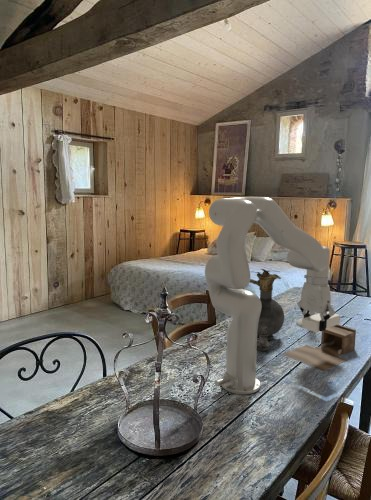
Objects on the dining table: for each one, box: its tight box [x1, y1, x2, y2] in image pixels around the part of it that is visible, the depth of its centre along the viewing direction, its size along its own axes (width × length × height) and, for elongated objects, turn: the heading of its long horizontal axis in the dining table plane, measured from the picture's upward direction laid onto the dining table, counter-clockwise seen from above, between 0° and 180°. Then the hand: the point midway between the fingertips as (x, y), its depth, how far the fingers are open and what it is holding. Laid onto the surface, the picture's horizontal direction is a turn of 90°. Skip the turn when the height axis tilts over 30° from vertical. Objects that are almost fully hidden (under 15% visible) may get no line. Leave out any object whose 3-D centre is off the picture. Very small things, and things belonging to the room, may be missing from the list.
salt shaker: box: [257, 323, 272, 352], centre depth 157 cm, size 6×6×12 cm
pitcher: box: [243, 268, 285, 341], centre depth 173 cm, size 11×19×30 cm, turn 56°
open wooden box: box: [282, 324, 357, 372], centre depth 155 cm, size 26×18×9 cm
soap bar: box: [301, 311, 341, 333], centre depth 152 cm, size 15×6×4 cm, turn 127°
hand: (314, 327), depth 149 cm, fingers closed on soap bar, 6 cm apart
